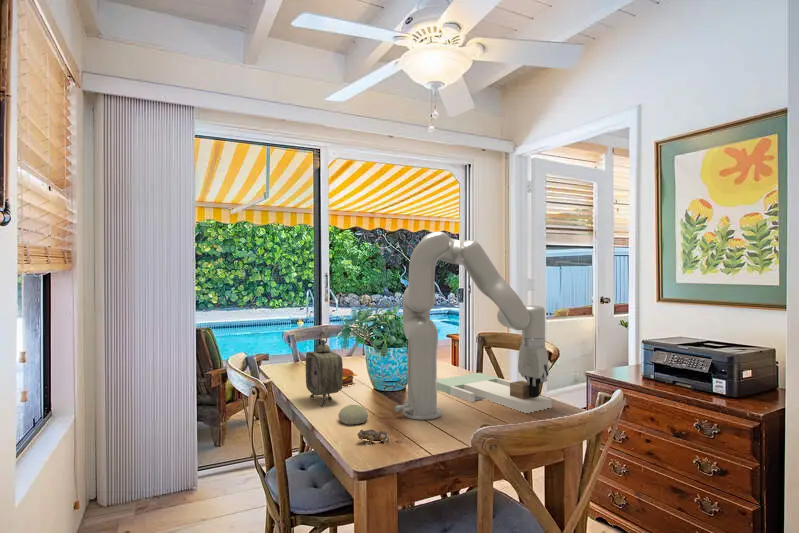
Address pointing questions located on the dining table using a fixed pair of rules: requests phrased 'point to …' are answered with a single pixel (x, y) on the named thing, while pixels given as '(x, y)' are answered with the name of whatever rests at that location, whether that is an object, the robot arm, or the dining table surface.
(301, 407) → the dining table surface
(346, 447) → the dining table surface
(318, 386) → the tabletop clock
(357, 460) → the dining table surface
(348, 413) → the sea urchin shell
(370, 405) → the dining table surface
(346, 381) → the hamburger
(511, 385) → the walnut block
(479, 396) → the board
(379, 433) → the frog figurine
